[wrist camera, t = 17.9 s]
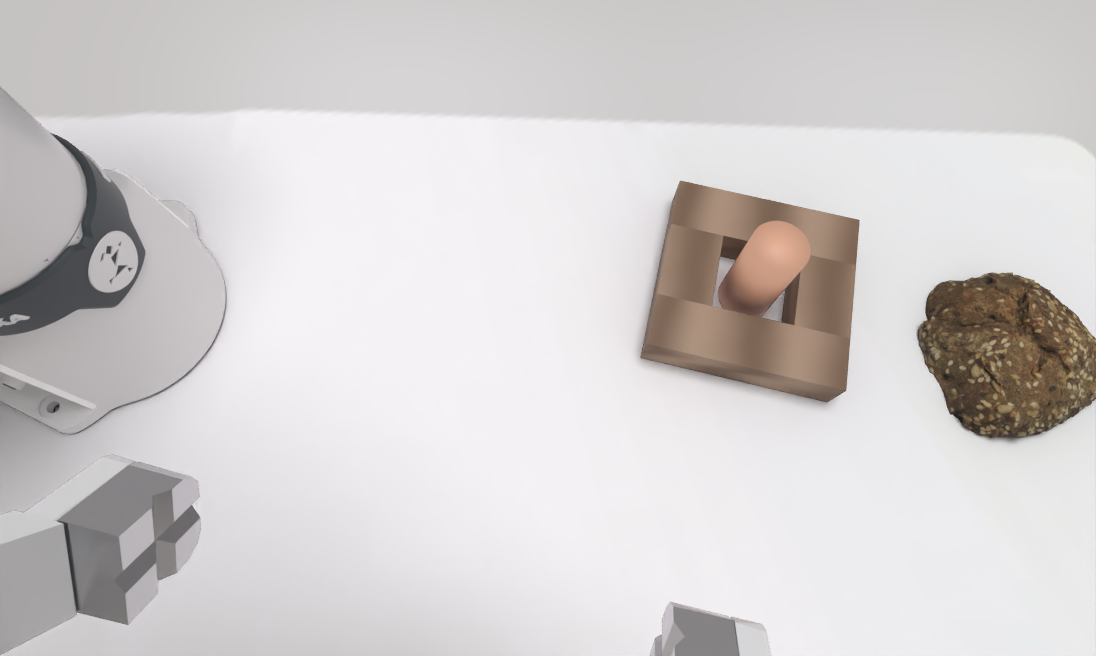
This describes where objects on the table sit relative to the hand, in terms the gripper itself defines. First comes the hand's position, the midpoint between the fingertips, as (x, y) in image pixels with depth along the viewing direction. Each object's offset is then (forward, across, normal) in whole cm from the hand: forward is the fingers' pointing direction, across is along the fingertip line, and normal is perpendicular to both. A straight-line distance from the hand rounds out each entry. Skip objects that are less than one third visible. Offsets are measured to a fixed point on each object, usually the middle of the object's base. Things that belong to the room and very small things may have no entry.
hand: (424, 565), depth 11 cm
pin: (+42, -13, +7) cm, 44 cm away
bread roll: (+42, -32, +7) cm, 54 cm away
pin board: (+42, -13, +7) cm, 44 cm away
